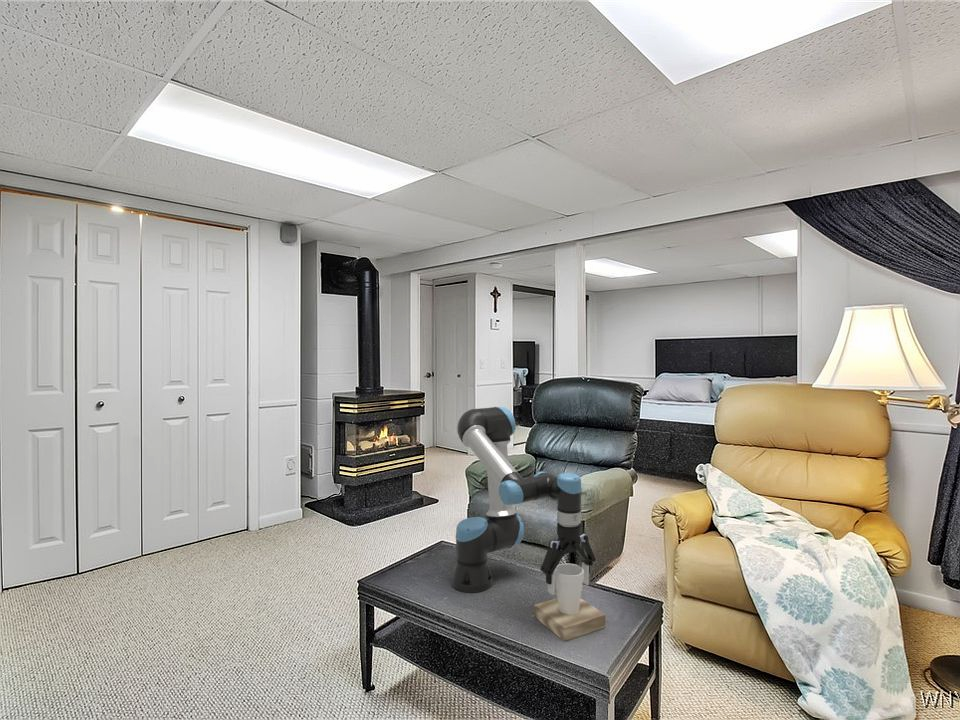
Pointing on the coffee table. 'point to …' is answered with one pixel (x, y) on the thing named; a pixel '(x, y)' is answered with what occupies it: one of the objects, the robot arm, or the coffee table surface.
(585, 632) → the wooden base
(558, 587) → the foam cup
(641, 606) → the coffee table surface
